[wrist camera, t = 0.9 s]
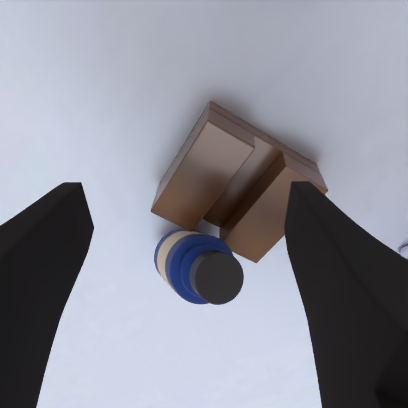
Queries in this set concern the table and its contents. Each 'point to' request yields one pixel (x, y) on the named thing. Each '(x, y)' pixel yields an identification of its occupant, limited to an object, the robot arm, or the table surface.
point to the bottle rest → (233, 182)
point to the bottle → (199, 267)
